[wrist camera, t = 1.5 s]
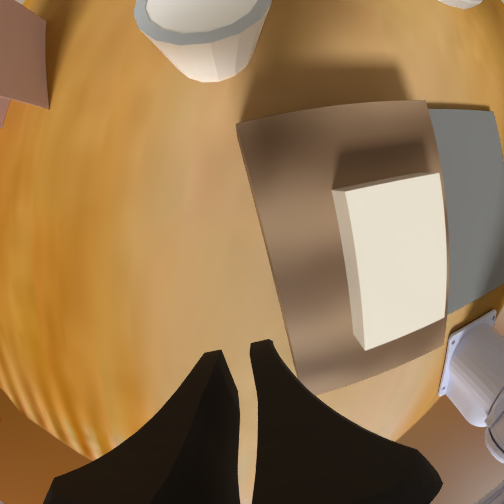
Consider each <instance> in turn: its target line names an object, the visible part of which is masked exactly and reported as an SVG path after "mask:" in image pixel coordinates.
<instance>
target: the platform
mask: <svg viewBox="0 0 504 504" xmlns="http://www.w3.org/2000/svg"><path fill="white" fill-rule="evenodd" d="M236 130H237V138H238V141H239V145H240V149H241V153H242V156H243V160H244V164H245V168H246V172H247V175H248V179H249V183H250V187H251V191H252V195H253V199H254V202H255V206H256V210H257V214H258V218H259V222H260V226H261V230H262V234H263V238H264V242H265V246H266V250H267V254H268V258H269V262H270V266H271V270H272V274H273V278H274V282H275V286H276V290H277V295H278V299H279V303H280V307H281V311H282V315H283V319H284V324H285V328H286V332H287V336H288V341H289V345H290V349H291V353H292V358H293V362H294V366H295V370H296V373H297V377H298V380H299V381H300V382H301V383H302V384H303V385H304V386H305V387H306V388H307V389H308V390H309V391H310V392H312V393H313V394H314V395H319V394H322V393H326V392H329V391H332V390H335V389H339V388H342V387H345V386H348V385H351V384H354V383H356V382H359V381H362V380H365V379H368V378H370V377H373V376H376V375H378V374H381V373H383V372H386V371H388V370H391V369H393V368H395V367H398V366H400V365H402V364H405V363H407V362H409V361H411V360H414V359H416V358H418V357H420V356H422V355H424V354H426V353H429V352H431V351H433V350H435V349H437V348H439V347H440V346H442V345H444V338H445V330H446V321H447V310H448V295H449V232H448V217H447V206H446V197H445V189H444V182H443V175H442V169H441V163H440V158H439V152H438V148H437V143H436V138H435V134H434V130H433V126H432V122H431V118H430V114H429V111H428V107H427V104H426V101H425V100H403V101H379V102H365V103H353V104H344V105H335V106H327V107H319V108H312V109H306V110H300V111H294V112H288V113H283V114H278V115H273V116H268V117H263V118H258V119H254V120H249V121H245V122H241V123H237V124H236ZM414 173H439V174H440V181H441V188H442V196H443V205H444V215H445V228H446V250H447V281H446V303H445V316H444V318H442V319H440V320H438V321H436V322H434V323H432V324H430V325H427V326H425V327H423V328H421V329H419V330H416V331H414V332H412V333H409V334H407V335H405V336H402V337H400V338H397V339H395V340H392V341H390V342H387V343H385V344H382V345H379V346H377V347H374V348H371V349H369V350H366V351H365V350H364V349H363V347H362V346H361V344H360V343H359V342H358V340H357V339H356V337H355V336H354V334H353V325H352V315H351V306H350V297H349V289H348V281H347V274H346V267H345V261H344V254H343V248H342V242H341V236H340V230H339V225H338V220H337V214H336V209H335V204H334V199H333V195H332V190H334V189H339V188H343V187H348V186H353V185H358V184H362V183H367V182H372V181H377V180H382V179H387V178H392V177H398V176H403V175H408V174H414Z"/></svg>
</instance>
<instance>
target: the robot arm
mask: <svg viewBox="0 0 504 504" xmlns="http://www.w3.org/2000/svg"><path fill="white" fill-rule="evenodd" d="M496 313H497V311H496V310H495V309H493V310H491V311H490V312H488V313H487V314H485V315H483V316H482V317H480V318H479V319H477V320H475V321H473V322H472V323H470V324H468V325H467V326H465V327H463V328H461V329H459V330H458V331H456V332H454V333H452V334H451V335H450V337H449V341H448V348H447V354H446V359H445V365H444V370H443V374H442V379H441V383H440V388H439V392H438V395H439V396H443V395H444V394H446V395H447V396H448V397H449V399H450V400H451V401H452V402H453V404H454V405H455V406H456V407H457V408H458V410H459V411H460V412H461V414H462V415H463V416H464V417H465V419H466V420H467V421H469V423H471V424H473V425H475V426H479V427H485V426H488V427H487V429H486V431H485V442H486V445H487V447H488V449H489V451H490V452H491V454H492V455H493V456H494V457H495V458H496V459H497V460H499V461H500V462H502V463H504V336H503V335H502V334H501V333H499V332H498V331H497V330H495V329H494V324H495V319H496ZM250 359H251V364H252V369H253V375H254V380H255V385H256V390H257V398H258V445H257V460H256V474H255V482H254V490H253V498H252V504H430V502H431V501H432V500H433V499H434V498H435V496H436V495H437V494H438V493H439V491H440V489H441V487H442V485H443V482H442V481H441V478H440V476H439V474H438V472H437V471H436V470H435V469H434V467H433V466H432V465H431V464H430V463H429V461H428V460H427V459H426V458H425V457H424V456H423V455H422V454H421V453H420V452H419V451H418V450H417V449H414V448H411V447H408V446H405V445H402V444H399V443H396V442H393V441H391V440H388V439H386V438H383V437H381V436H379V435H377V434H375V433H372V432H370V431H368V430H366V429H364V428H362V427H361V426H359V425H357V424H355V423H354V422H352V421H350V420H349V419H347V418H345V417H344V416H342V415H340V414H339V413H337V412H336V411H334V410H333V409H332V408H330V407H329V406H327V405H326V404H325V403H324V402H322V401H321V400H320V399H319V398H317V397H316V396H315V395H314V394H313V393H312V392H310V391H309V390H308V389H307V388H306V387H305V386H304V385H303V384H302V383H301V382H300V381H299V380H298V379H297V378H296V376H295V375H294V374H293V373H292V372H291V371H290V369H289V368H288V367H287V366H286V364H285V363H284V362H283V360H282V359H281V358H280V356H279V354H278V353H277V351H276V349H275V347H274V345H273V341H271V340H269V339H267V340H263V341H258V342H254V343H251V346H250ZM239 427H240V408H239V397H238V390H237V388H236V385H235V383H234V380H233V378H232V375H231V373H230V370H229V368H228V365H227V363H226V360H225V358H224V355H223V352H222V350H217V351H211V352H206V353H204V354H203V356H202V357H201V358H200V360H199V361H198V362H197V364H196V365H195V367H194V368H193V369H192V371H191V372H190V374H189V375H188V376H187V378H186V379H185V380H184V382H183V383H182V384H181V385H180V387H179V388H178V389H177V391H176V392H175V393H174V394H173V395H172V396H171V398H170V399H169V400H168V401H167V402H166V403H165V405H164V406H163V407H162V408H161V409H160V410H159V411H158V412H157V413H156V414H155V415H154V416H153V417H152V418H151V419H150V420H149V421H148V422H147V423H146V424H145V425H144V426H143V427H142V428H141V429H139V430H138V431H137V432H136V433H135V434H133V435H132V436H131V437H129V438H128V439H127V440H125V441H124V442H123V443H121V444H120V445H119V446H117V447H116V448H114V449H113V450H111V451H110V452H108V453H107V454H105V455H103V456H102V457H100V458H98V459H96V460H94V461H93V462H91V463H89V464H87V465H85V466H83V467H81V468H78V469H76V470H73V471H71V472H68V473H66V474H63V475H61V476H58V477H55V478H54V480H53V482H52V484H51V486H50V489H49V491H48V493H47V495H46V498H45V500H44V502H43V504H240V498H239V486H238V447H239ZM0 504H4V503H3V502H1V501H0ZM474 504H504V480H503V481H502V482H501V483H500V484H499V485H498V486H496V487H495V488H494V489H493V490H491V491H490V492H489V493H487V494H486V495H485V496H484V497H482V498H481V499H479V500H478V501H477V502H475V503H474Z"/></svg>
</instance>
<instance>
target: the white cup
mask: <svg viewBox="0 0 504 504" xmlns="http://www.w3.org/2000/svg"><path fill="white" fill-rule="evenodd" d="M271 3H272V0H137V1H136V5H135V9H134V13H133V14H134V16H135V19H136V22H137V25H138V28H139V29H140V30H141V31H142V32H143V33H144V34H145V35H146V36H147V37H148V38H149V39H150V40H151V41H152V42H153V43H154V44H155V45H156V46H157V48H158V49H159V50H160V51H161V52H162V53H163V54H164V55H165V56H166V57H167V58H168V59H169V60H170V61H171V62H172V63H173V64H174V65H175V66H176V68H177V69H178V70H180V71H181V72H182V73H183V74H184V75H186V76H187V77H188V78H190V79H194V80H197V81H200V82H220V81H222V80H225V79H228V78H231V77H234V76H235V75H237V74H238V73H239V72H240V71H242V70H243V69H244V68H245V67H247V65H248V63H249V61H250V59H251V57H252V56H253V53H254V50H255V47H256V44H257V41H258V39H259V36H260V33H261V30H262V27H263V25H264V22H265V19H266V16H267V14H268V11H269V8H270V6H271Z"/></svg>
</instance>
